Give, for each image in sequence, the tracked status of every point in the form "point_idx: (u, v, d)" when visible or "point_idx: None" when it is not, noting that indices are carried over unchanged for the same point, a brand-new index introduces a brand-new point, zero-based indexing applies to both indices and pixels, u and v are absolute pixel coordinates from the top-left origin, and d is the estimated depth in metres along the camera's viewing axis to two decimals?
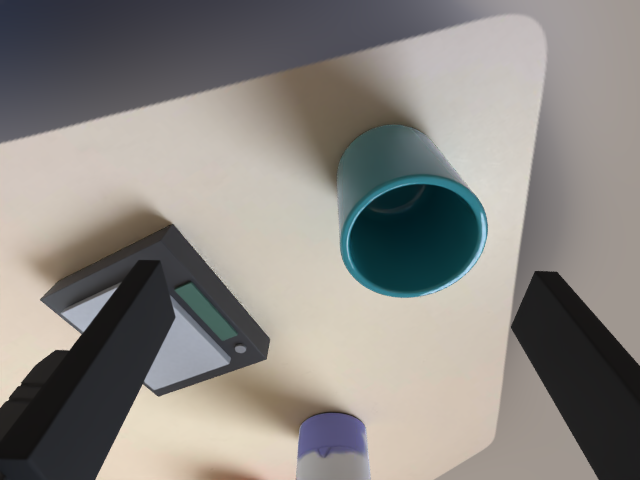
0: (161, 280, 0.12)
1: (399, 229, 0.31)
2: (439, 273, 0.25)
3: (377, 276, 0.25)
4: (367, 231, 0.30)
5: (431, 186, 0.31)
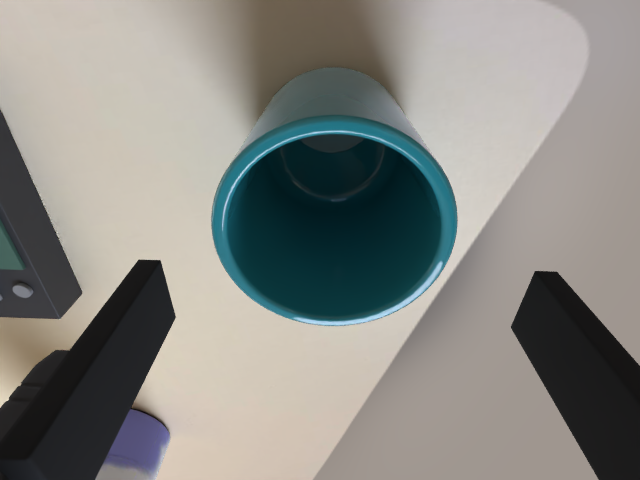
0: (161, 280, 0.12)
1: (315, 220, 0.22)
2: (346, 301, 0.16)
3: (256, 268, 0.15)
4: (273, 202, 0.20)
5: (377, 185, 0.23)
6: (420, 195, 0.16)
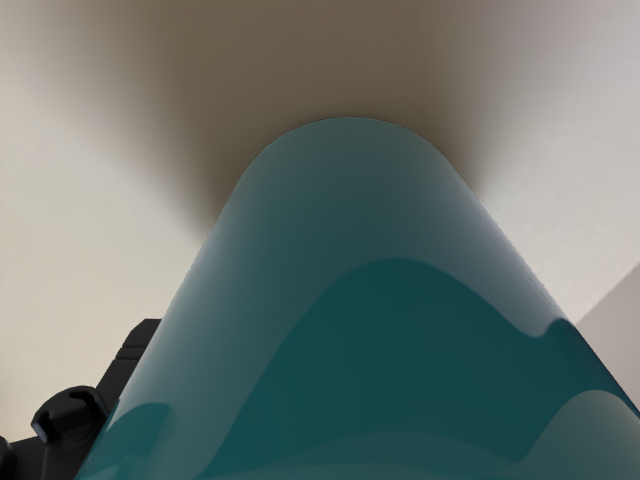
0: None
1: None
2: None
3: None
4: None
5: None
6: None
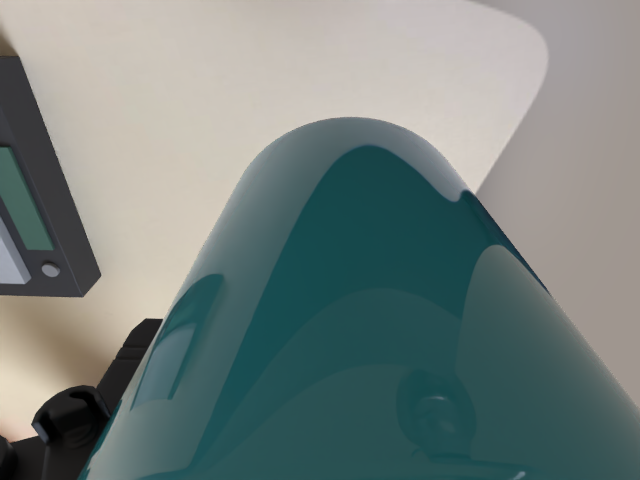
0: None
1: None
2: None
3: None
4: None
5: None
6: None
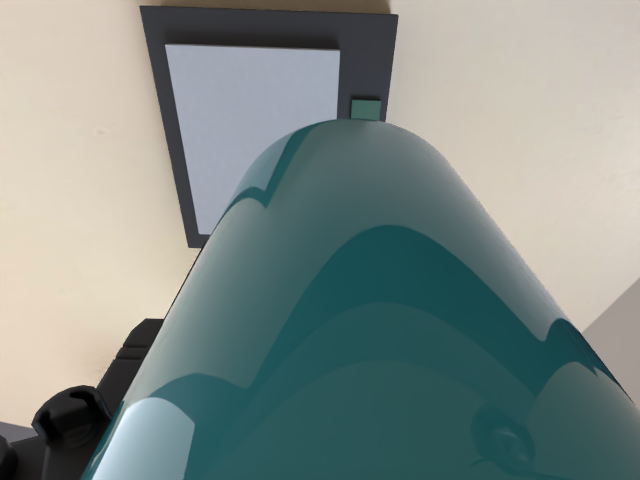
0: None
1: None
2: None
3: None
4: None
5: None
6: None
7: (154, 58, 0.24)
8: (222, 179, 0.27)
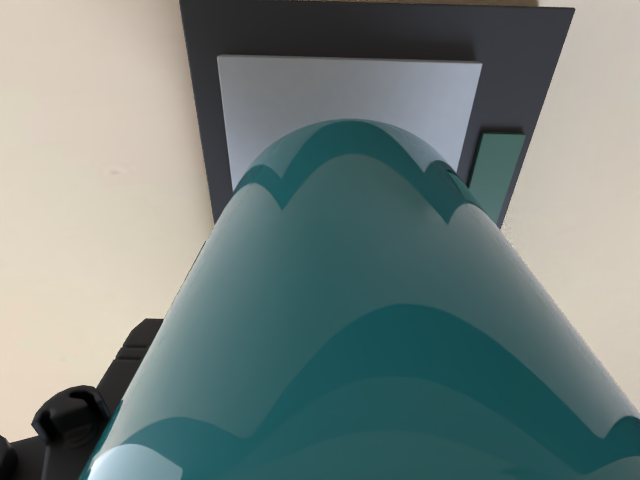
0: None
1: None
2: None
3: None
4: None
5: None
6: None
7: (197, 76, 0.16)
8: None
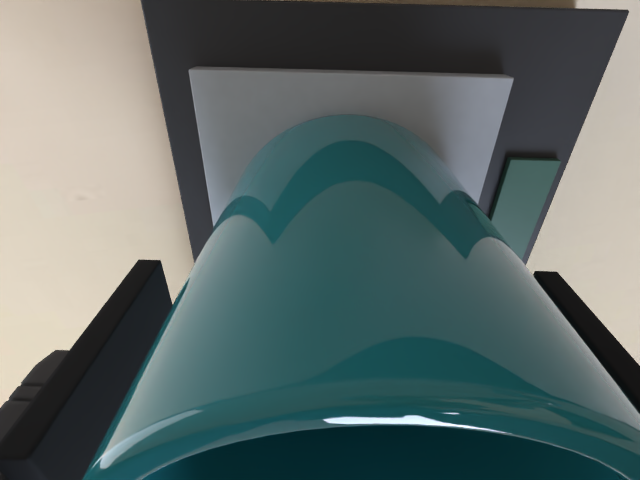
0: (161, 280, 0.12)
1: None
2: None
3: None
4: None
5: None
6: None
7: (167, 92, 0.13)
8: None
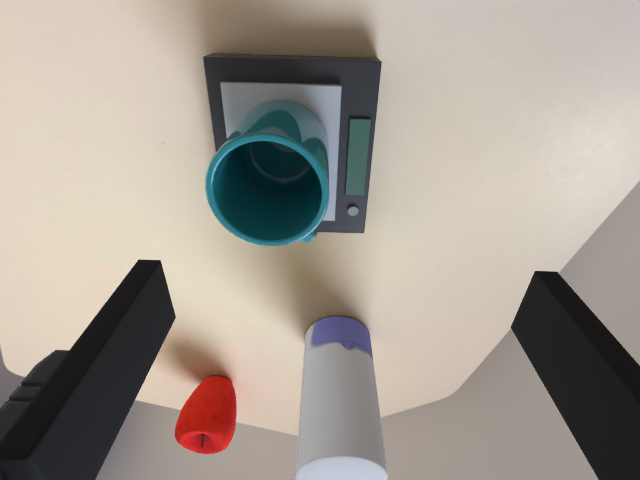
0: (161, 280, 0.12)
1: (272, 194, 0.35)
2: (281, 233, 0.29)
3: (230, 214, 0.28)
4: (244, 182, 0.33)
5: (312, 172, 0.36)
6: None
7: (211, 91, 0.34)
8: None
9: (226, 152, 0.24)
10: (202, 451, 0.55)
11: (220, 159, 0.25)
